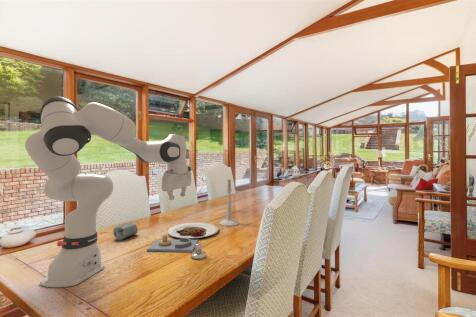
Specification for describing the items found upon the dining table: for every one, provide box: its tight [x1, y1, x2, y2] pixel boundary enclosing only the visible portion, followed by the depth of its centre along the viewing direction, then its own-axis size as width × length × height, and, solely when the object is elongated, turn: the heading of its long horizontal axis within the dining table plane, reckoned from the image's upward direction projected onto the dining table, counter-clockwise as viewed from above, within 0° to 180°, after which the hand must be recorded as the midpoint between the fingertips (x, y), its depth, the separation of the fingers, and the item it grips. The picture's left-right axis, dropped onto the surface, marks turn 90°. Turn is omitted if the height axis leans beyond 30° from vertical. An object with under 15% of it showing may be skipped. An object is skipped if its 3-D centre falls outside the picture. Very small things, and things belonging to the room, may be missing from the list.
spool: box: [112, 221, 138, 241], centre depth 147 cm, size 14×10×10 cm
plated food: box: [167, 222, 219, 240], centre depth 157 cm, size 30×30×3 cm
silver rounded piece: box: [190, 242, 207, 261], centre depth 120 cm, size 7×7×6 cm
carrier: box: [146, 233, 199, 253], centre depth 133 cm, size 14×22×6 cm, turn 88°
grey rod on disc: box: [219, 178, 240, 227], centre depth 174 cm, size 13×13×30 cm
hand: (177, 198), depth 124 cm, fingers open, 8 cm apart
